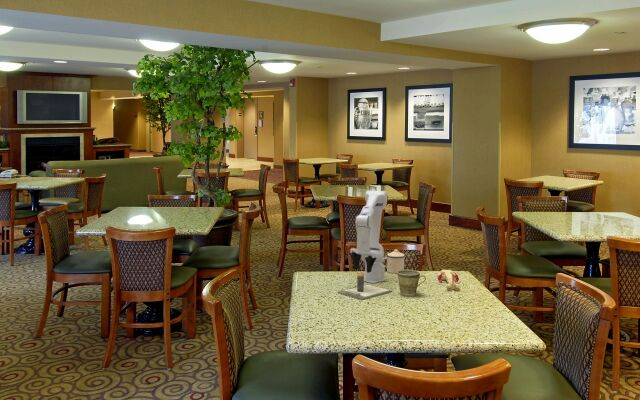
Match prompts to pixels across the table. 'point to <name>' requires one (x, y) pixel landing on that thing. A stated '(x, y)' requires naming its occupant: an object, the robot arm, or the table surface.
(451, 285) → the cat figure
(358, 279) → the marker
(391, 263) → the teacup with lid
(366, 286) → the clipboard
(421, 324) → the table surface
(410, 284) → the ceramic cup
